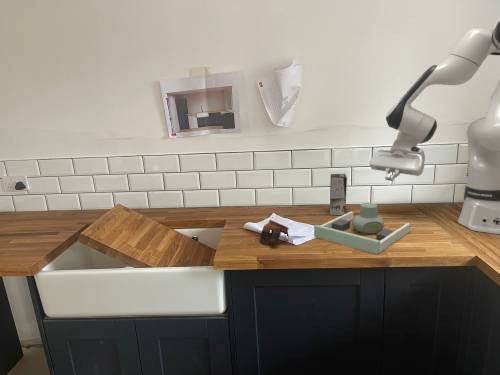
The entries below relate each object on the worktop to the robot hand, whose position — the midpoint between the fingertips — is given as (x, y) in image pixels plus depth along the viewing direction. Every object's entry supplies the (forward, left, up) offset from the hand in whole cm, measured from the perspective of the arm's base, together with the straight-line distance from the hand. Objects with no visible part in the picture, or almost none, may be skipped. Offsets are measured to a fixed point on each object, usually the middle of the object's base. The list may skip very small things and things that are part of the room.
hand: (388, 179), depth 134 cm
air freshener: (-1, +18, -16) cm, 24 cm away
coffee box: (+19, +5, -16) cm, 26 cm away
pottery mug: (+18, +47, -16) cm, 53 cm away
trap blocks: (-1, +22, -16) cm, 27 cm away
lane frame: (-1, +22, -16) cm, 27 cm away
